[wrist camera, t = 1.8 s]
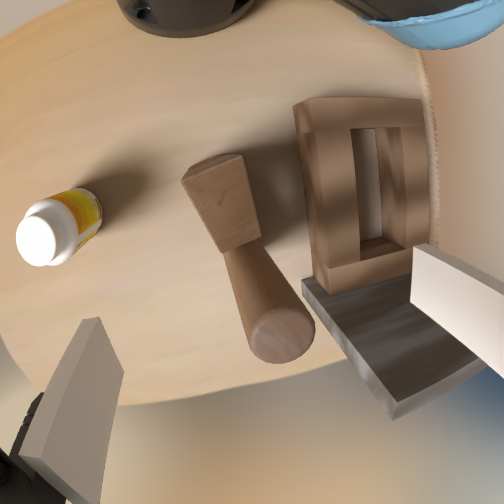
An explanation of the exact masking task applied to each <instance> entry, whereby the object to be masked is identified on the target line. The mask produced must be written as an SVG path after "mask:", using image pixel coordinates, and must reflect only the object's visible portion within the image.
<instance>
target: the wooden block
mask: <svg viewBox="0 0 504 504" xmlns="http://www.w3.org/2000/svg"><path fill="white" fill-rule="evenodd" d="M181 183H182V185H183V187H184V189H185V190H186V192H187V194H188V196H189V198H190V199H191V201H192V203H193V205H194V207H195V209H196V210H197V212H198V214H199V216H200V217H201V219H202V221H203V223H204V225H205V226H206V228H207V230H208V232H209V234H210V235H211V237H212V239H213V241H214V242H215V244H216V246H217V248H218V249H219V251H220V252H221V253H223V255H224V259H225V263H226V266H227V270H228V274H229V277H230V281H231V284H232V288H233V291H234V295H235V299H236V302H237V306H238V309H239V313H240V316H241V320H242V323H243V326H244V330H245V333H246V337H247V340H248V343H249V347H250V350H251V351H252V352H253V353H254V355H255V356H256V357H258V358H259V359H261V360H263V361H265V362H268V363H272V364H281V363H287V362H290V361H293V360H295V359H297V358H298V357H300V356H302V355H303V354H304V353H305V352H306V351H307V350H308V349H309V347H310V346H311V344H312V342H313V340H314V336H315V330H316V329H315V322H314V319H313V318H312V316H311V314H310V313H309V311H308V310H307V308H306V307H305V305H304V304H303V303H302V301H301V300H300V298H299V297H298V295H297V294H296V293H295V291H294V290H293V288H292V287H291V285H290V284H289V283H288V281H287V280H286V278H285V277H284V276H283V274H282V273H281V271H280V270H279V268H278V267H277V266H276V264H275V263H274V261H273V260H272V258H271V257H270V256H269V254H268V253H267V251H266V250H265V249H264V247H263V246H262V244H261V243H260V240H259V238H260V237H261V236H262V233H261V229H260V224H259V220H258V215H257V211H256V207H255V202H254V198H253V194H252V189H251V185H250V181H249V176H248V172H247V168H246V164H245V159H244V156H243V155H242V154H227V155H217V156H214V157H212V158H210V159H207V160H205V161H203V162H200V163H198V164H196V165H193V166H191V167H190V168H189V169H188V171H187V172H186V173H185V175H184V176H183V178H182V180H181Z"/></svg>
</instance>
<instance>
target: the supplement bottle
mask: <svg viewBox="0 0 504 504" xmlns="http://www.w3.org/2000/svg"><path fill="white" fill-rule="evenodd" d="M101 222H102V208H101V205H100V203H99V201H98V199H97V198H96V196H95V195H94V194H93V193H91V192H90V191H88V190H86V189H82V188H74V189H70V190H68V191H65V192H62V193H59V194H56V195H53V196H51V197H48V198H46V199H43V200H41V201H38V202H36V203H35V204H34V205H32V206H31V207H30V209H29V210H28V211H27V213H26V215H25V217H24V219H23V220H22V222H21V223H20V224H19V226H18V229H17V233H16V242H17V247H18V250H19V252H20V254H21V255H22V257H23V258H24V259H25V260H26V261H27V262H28V263H30V264H32V265H34V266H44V265H59V264H62V263H64V262H65V261H67V260H68V259H69V258H70V257H71V256H72V255H73V254H74V253H76V252H77V251H78V250H79V249H80V248H81V247H82V246H83V245H84V244H85V243H86V242H88V241H89V240H90V239H91V238H92V237H93V236H94V235H95V234H96V233H97V231H98V230H99V228H100V226H101Z"/></svg>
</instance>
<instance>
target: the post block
mask: <svg viewBox="0 0 504 504" xmlns="http://www.w3.org/2000/svg"><path fill="white" fill-rule="evenodd" d="M292 107H293V113H294V119H295V125H296V132H297V139H298V145H299V152H300V159H301V167H302V174H303V182H304V190H305V198H306V207H307V216H308V225H309V235H310V245H311V256H312V267H313V277H312V278H308V279H304V280H301V284H302V295H303V297H304V298H305V299H306V301H307V302H308V303H309V305H310V306H311V308H312V309H313V310H314V312H315V313H316V314H317V316H318V317H319V319H320V320H321V321H322V323H323V324H324V326H325V327H326V328H327V330H328V331H329V332H330V334H331V335H332V337H333V338H334V339H335V341H336V342H337V344H338V345H339V346H340V348H341V349H342V350H343V352H344V353H345V355H346V356H347V357H348V359H349V360H350V362H351V363H352V364H353V366H354V367H355V369H356V370H357V371H358V373H359V374H360V376H361V377H362V378H363V380H364V381H365V383H366V384H367V385H368V387H369V388H370V390H371V391H372V393H373V394H374V395H375V397H376V398H377V400H378V401H379V402H380V404H381V405H382V407H383V408H384V410H385V411H386V412H387V414H388V415H389V417H390V418H391V419H392V420H395V419H397V418H399V417H401V416H403V415H405V414H407V413H409V412H411V411H413V410H415V409H417V408H419V407H421V406H423V405H425V404H426V403H428V402H430V401H432V400H434V399H436V398H437V397H439V396H441V395H443V394H444V393H446V392H448V391H450V390H451V389H453V388H454V387H456V386H458V385H459V384H461V383H462V382H464V381H466V380H467V379H469V378H470V377H472V376H473V375H475V374H476V373H478V372H479V371H481V370H482V369H483V368H485V367H486V366H488V364H487V363H485V362H484V361H483V360H482V359H481V358H480V357H478V356H477V355H476V354H475V353H474V352H472V351H471V350H470V349H469V348H468V347H466V346H465V345H464V344H463V343H462V342H460V341H459V340H458V339H457V338H455V337H454V336H453V335H452V334H451V333H449V332H448V331H447V330H446V329H444V328H443V327H442V326H441V325H439V324H438V323H437V322H436V321H434V320H433V319H432V318H430V317H429V316H428V315H427V314H425V313H424V312H423V311H421V310H420V309H419V308H418V307H416V306H415V305H414V304H412V303H411V302H410V296H411V283H412V268H413V246H417V245H421V244H424V243H427V244H429V172H428V156H427V144H426V134H425V125H424V117H423V109H422V103H421V100H417V99H403V98H381V97H331V98H309V99H307V100H305V101H303V102H300V103H298V104H296V105H294V106H292ZM374 128H375V136H376V145H377V154H378V165H379V177H380V191H381V210H382V237H380V238H375V239H371V240H366V241H362V242H360V236H359V217H358V202H357V189H356V177H355V167H354V158H353V149H352V141H351V133H350V130H353V129H374Z"/></svg>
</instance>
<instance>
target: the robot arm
mask: <svg viewBox="0 0 504 504" xmlns="http://www.w3.org/2000/svg"><path fill="white" fill-rule="evenodd" d="M332 1H334V2H336V3H338V4H339V5H341V6H343V7H345V8H346V9H348V10H350V11H352V12H353V13H355V14H356V15H357V16H358V18H359V19H360V20H362V21H363V22H365V23H367V24H370V25H375V26H376V27H378V28H380V29H381V30H383V31H385V32H386V33H388V34H389V35H391V36H392V37H394V38H395V39H397V40H398V41H400V42H402V43H403V44H405V45H408V46H410V47H413V48H417V49H421V50H435V49H441V50H446V49H451V48H456V47H460V46H464V45H467V44H470V43H472V42H475V41H477V40H479V39H481V38H483V37H485V36H487V35H488V34H490V33H491V32H493V31H494V30H495V29H497V28H498V27H500V25H502V24H503V23H504V0H332ZM117 2H118V5H119V7H120V9H121V11H122V12H123V14H124V16H125V17H126V18H127V19H128V21H129V22H131V23H132V24H133V25H134V26H136V27H137V28H139V29H141V30H143V31H145V32H147V33H150V34H153V35H157V36H162V37H170V38H188V37H196V36H202V35H206V34H210V33H213V32H216V31H218V30H221V29H223V28H225V27H227V26H229V25H231V24H233V23H234V22H236V21H237V20H239V19H240V18H241V17H242V16H243V15H244V14H245V13H247V11H248V10H249V9H250V8H251V6H252V5H253V3H254V2H255V0H117ZM410 302H411V303H412V304H414V305H415V306H416V307H418V308H419V309H420V310H421V311H423V312H424V313H425V314H427V315H428V316H429V317H430V318H432V319H433V320H434V321H436V322H437V323H438V324H439V325H441V326H442V327H443V328H444V329H446V330H447V331H448V332H449V333H451V334H452V335H453V336H454V337H455V338H457V339H458V340H459V341H460V342H462V343H463V344H464V345H465V346H466V347H468V348H469V349H470V350H471V351H472V352H474V353H475V354H476V355H477V356H478V357H480V358H481V359H482V360H483V361H484V362H485V363H487V364H488V365H489V366H490V367H492V369H494V370H495V371H496V372H497V373H498V374H499V375H500V376H502V377H503V378H504V283H503V282H502V281H500V280H498V279H496V278H494V277H492V276H490V275H489V274H487V273H485V272H483V271H481V270H479V269H477V268H475V267H473V266H471V265H469V264H468V263H466V262H464V261H462V260H460V259H458V258H456V257H454V256H452V255H449V254H447V253H445V252H443V251H441V250H439V249H437V248H435V247H433V246H431V245H429V244H427V243H424V244H421V245H417V246H413V268H412V283H411V296H410ZM123 375H124V370H123V368H122V366H121V364H120V362H119V360H118V358H117V356H116V354H115V351H114V349H113V347H112V345H111V343H110V341H109V338H108V336H107V334H106V331H105V329H104V327H103V324H102V322H101V320H100V317H95V318H90V319H84V320H82V322H81V324H80V326H79V327H78V329H77V331H76V333H75V334H74V336H73V338H72V340H71V342H70V344H69V345H68V347H67V349H66V351H65V353H64V355H63V357H62V359H61V360H60V362H59V364H58V366H57V368H56V370H55V372H54V374H53V376H52V378H51V380H50V382H49V384H48V386H47V388H46V391H45V392H42V393H40V394H39V395H38V397H37V398H36V399H35V400H34V401H33V402H32V403H31V406H30V408H29V410H28V412H27V416H25V418H24V421H23V426H21V427H20V430H19V432H18V434H17V437H16V439H15V442H14V444H13V447H12V449H11V452H10V454H9V457H8V455H7V454H6V453H5V452H4V451H3V450H2V449H1V448H0V504H65V502H66V499H67V500H69V501H70V502H71V503H72V504H100V497H101V489H102V482H103V475H104V469H105V462H106V456H107V451H108V445H109V440H110V434H111V429H112V424H113V418H114V414H115V409H116V405H117V401H118V396H119V392H120V387H121V383H122V379H123Z"/></svg>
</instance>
